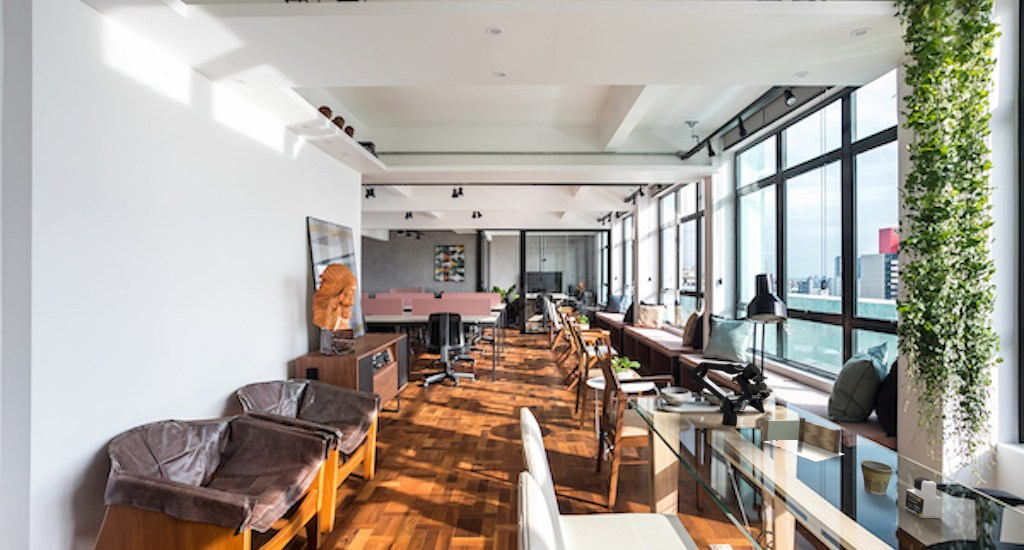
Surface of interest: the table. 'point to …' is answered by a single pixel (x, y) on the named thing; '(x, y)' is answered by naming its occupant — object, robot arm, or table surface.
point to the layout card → (814, 452)
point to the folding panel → (781, 430)
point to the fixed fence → (819, 435)
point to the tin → (737, 397)
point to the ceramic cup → (876, 476)
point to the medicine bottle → (924, 498)
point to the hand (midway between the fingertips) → (763, 413)
